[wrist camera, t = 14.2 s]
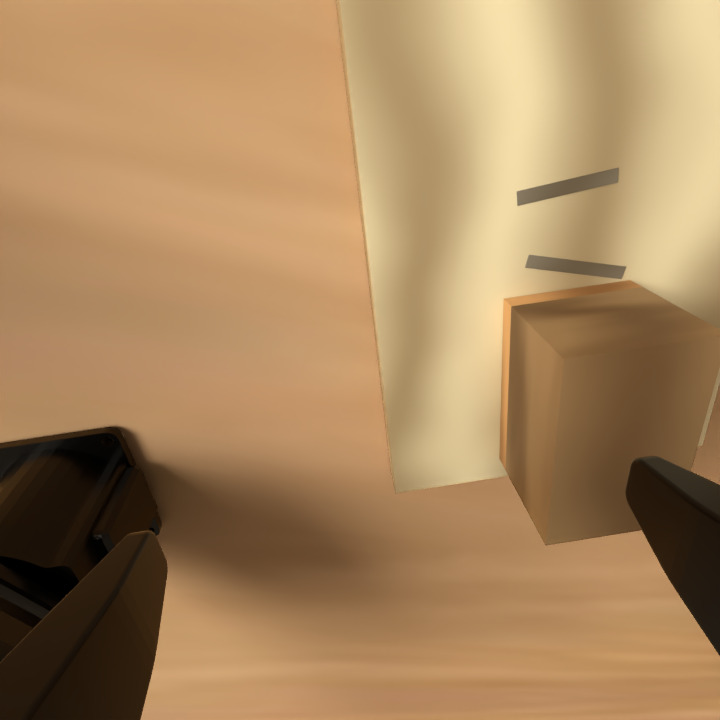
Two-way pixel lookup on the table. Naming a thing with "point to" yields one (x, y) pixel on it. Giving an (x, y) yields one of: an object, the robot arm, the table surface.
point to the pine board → (521, 188)
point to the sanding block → (598, 400)
